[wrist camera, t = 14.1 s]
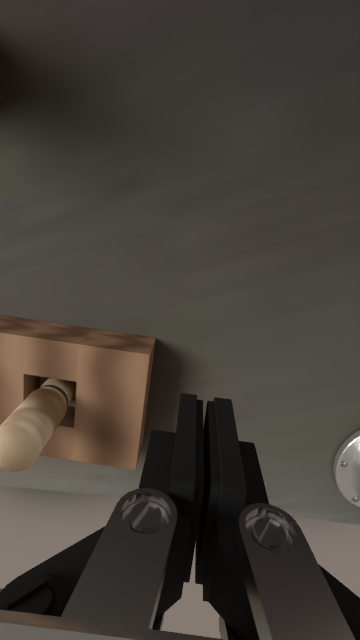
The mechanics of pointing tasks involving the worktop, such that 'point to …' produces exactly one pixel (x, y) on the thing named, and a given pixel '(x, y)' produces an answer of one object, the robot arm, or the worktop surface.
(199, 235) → the worktop surface
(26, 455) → the peg
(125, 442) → the board
